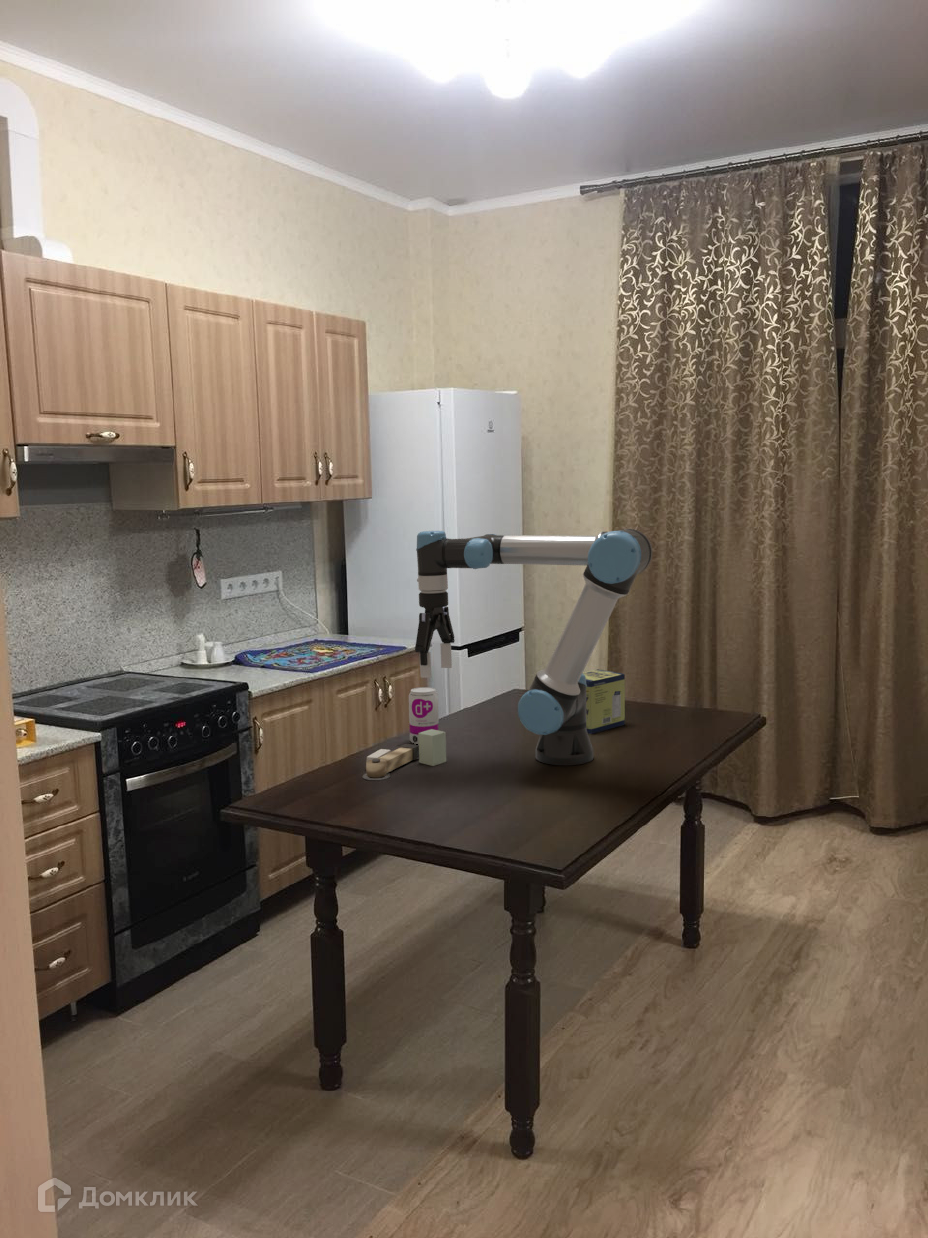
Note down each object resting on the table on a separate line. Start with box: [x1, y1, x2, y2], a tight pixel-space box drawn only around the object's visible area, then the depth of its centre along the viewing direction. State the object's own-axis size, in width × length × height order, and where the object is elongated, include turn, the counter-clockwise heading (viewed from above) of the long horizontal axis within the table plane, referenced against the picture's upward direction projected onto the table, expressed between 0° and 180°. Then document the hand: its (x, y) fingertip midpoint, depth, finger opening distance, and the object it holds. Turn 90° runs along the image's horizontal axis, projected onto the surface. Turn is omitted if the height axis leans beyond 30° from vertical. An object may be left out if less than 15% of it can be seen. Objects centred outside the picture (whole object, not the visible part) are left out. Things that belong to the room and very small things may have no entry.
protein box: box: [583, 669, 626, 735], centre depth 305 cm, size 10×16×16 cm
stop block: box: [366, 748, 392, 762], centre depth 271 cm, size 3×8×3 cm, turn 158°
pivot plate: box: [362, 772, 392, 781], centre depth 261 cm, size 7×7×1 cm
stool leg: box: [365, 743, 419, 777], centre depth 268 cm, size 20×5×4 cm, turn 153°
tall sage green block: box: [418, 729, 447, 767], centre depth 273 cm, size 5×5×8 cm
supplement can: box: [408, 686, 440, 745], centre depth 292 cm, size 8×8×15 cm
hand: (436, 672), depth 271 cm, fingers open, 13 cm apart
